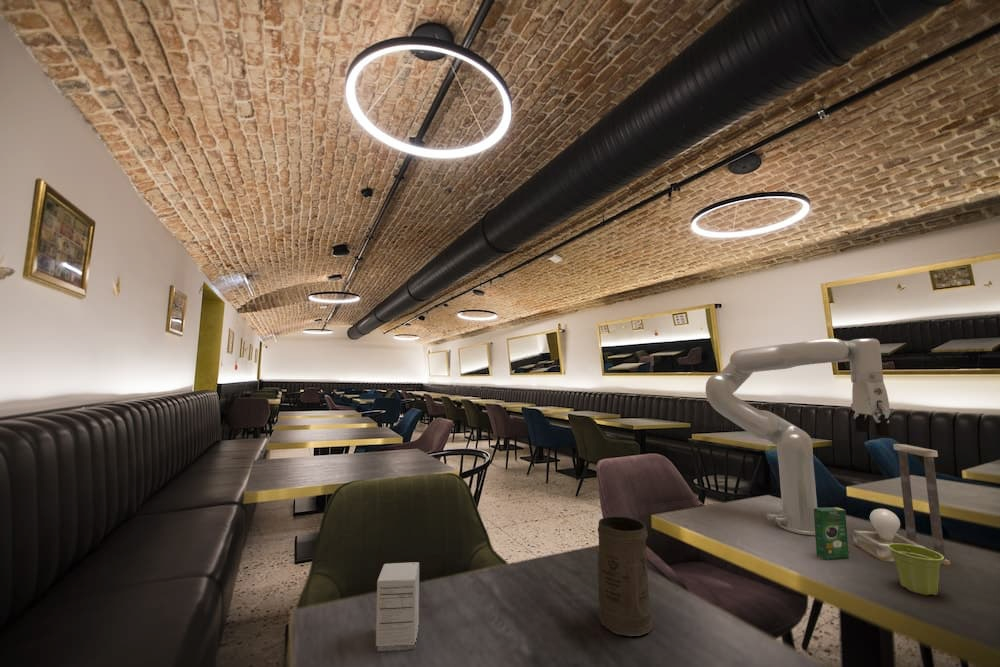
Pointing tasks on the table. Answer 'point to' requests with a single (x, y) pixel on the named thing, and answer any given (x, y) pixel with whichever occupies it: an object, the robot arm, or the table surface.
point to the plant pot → (917, 567)
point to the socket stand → (908, 509)
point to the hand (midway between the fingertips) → (871, 434)
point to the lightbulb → (885, 524)
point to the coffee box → (831, 533)
